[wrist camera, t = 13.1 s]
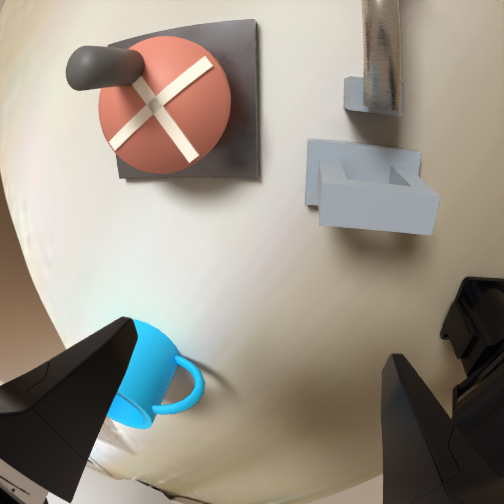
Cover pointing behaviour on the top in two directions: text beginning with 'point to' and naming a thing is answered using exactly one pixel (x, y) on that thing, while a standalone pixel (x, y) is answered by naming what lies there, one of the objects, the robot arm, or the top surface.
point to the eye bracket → (368, 180)
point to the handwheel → (156, 100)
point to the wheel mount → (242, 99)
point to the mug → (152, 380)
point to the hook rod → (382, 54)
